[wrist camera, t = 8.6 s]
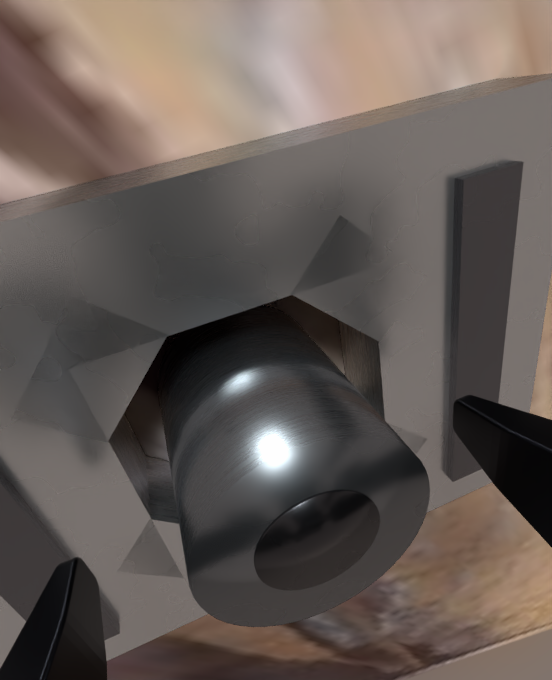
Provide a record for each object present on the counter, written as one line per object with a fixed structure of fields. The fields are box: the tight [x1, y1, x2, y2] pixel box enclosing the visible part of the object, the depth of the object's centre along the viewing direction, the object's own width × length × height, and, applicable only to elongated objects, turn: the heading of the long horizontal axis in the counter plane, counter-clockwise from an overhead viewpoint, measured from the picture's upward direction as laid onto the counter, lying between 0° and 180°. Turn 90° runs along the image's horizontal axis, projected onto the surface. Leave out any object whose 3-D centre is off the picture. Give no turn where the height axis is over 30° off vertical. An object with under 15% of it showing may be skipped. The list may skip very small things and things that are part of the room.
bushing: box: [158, 306, 430, 627], centre depth 11 cm, size 5×5×6 cm
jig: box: [0, 73, 552, 668], centre depth 12 cm, size 18×13×3 cm
